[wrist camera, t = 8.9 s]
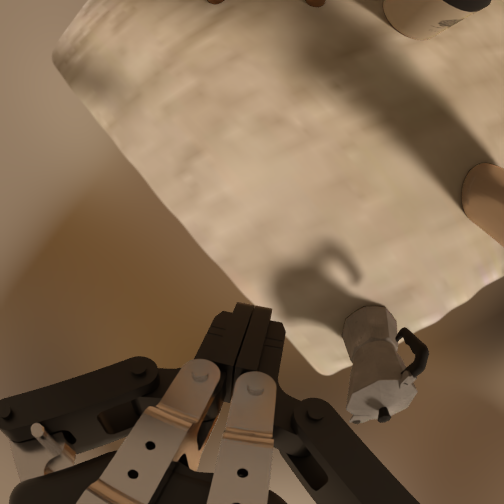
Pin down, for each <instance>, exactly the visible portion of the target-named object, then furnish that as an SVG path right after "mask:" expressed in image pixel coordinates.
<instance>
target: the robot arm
mask: <svg viewBox="0 0 504 504" xmlns="http://www.w3.org/2000/svg"><path fill="white" fill-rule="evenodd" d="M462 205H463V209H464V212H465V213H466V215H467V217H468V218H469V219H470V220H471V221H472V222H473V223H475V224H476V225H477V226H479V227H480V228H481V229H482V230H483V231H485V232H486V233H487V234H488V235H490V236H491V237H492V238H493V239H494V240H496V241H497V242H498V243H499V244H500V245H502V246H503V247H504V168H501V167H498V166H495V165H493V164H490V163H481V164H478V165H476V166H475V167H474V168H472V169H471V170H470V172H469V173H468V174H467V176H466V178H465V180H464V184H463V187H462ZM271 314H272V309H271V308H266V307H261V306H255V308H254V305H250V304H245V303H240V302H237V304H236V307H235V309H234V311H233V313H230V312H226V311H222V312H221V313H220V314H218V315H217V316H216V317H215V318H214V320H213V322H212V324H211V326H210V328H209V330H208V332H207V334H206V336H205V338H204V340H203V342H202V344H201V346H200V348H199V350H198V352H197V354H196V356H195V358H194V359H193V360H191V361H189V362H187V363H185V364H184V365H183V366H182V368H177V369H163V368H157V365H156V364H155V362H154V361H152V360H151V359H149V358H146V357H141V356H138V357H133V358H129V359H127V360H124V361H121V362H118V363H116V364H113V365H110V366H107V367H104V368H101V369H98V370H96V371H93V372H90V373H87V374H84V375H81V376H78V377H75V378H72V379H68V380H65V381H62V382H59V383H56V384H53V385H50V386H47V387H43V388H40V389H36V390H33V391H29V392H26V393H22V394H19V395H15V396H11V397H8V398H4V399H2V400H0V430H1V431H2V432H3V433H4V434H5V435H6V437H7V438H8V439H9V441H10V445H11V449H12V454H13V458H14V461H15V465H16V468H17V472H18V475H19V478H20V481H21V483H19V484H18V485H17V486H16V487H15V488H14V489H13V491H12V493H11V495H10V500H9V504H287V503H286V502H285V501H284V500H283V499H282V498H281V497H280V496H278V495H277V494H276V493H274V492H272V491H271V490H269V483H270V474H271V465H272V457H273V447H275V448H277V449H279V451H280V454H281V455H282V457H283V458H284V460H285V461H286V462H287V464H288V465H289V467H290V468H291V470H292V471H293V472H294V474H295V475H296V477H297V478H298V479H299V481H300V482H301V483H302V485H303V486H304V487H305V489H306V490H307V492H308V493H309V494H310V496H311V497H312V498H313V500H314V501H315V502H316V503H317V504H420V503H419V502H418V501H417V500H416V499H415V498H414V497H413V496H412V495H411V494H410V493H409V492H408V491H407V490H406V489H405V488H404V486H403V485H402V484H401V483H400V482H399V481H398V480H397V479H396V478H395V477H394V476H393V475H392V474H391V473H390V472H389V470H388V469H387V468H386V467H385V466H384V465H383V464H382V463H381V462H380V461H379V460H378V458H377V457H376V456H375V455H374V454H373V453H372V452H371V451H370V450H369V448H368V447H367V446H366V445H365V444H364V443H363V442H362V440H361V439H360V438H359V437H358V436H357V435H356V434H355V433H354V432H353V430H352V429H351V428H350V427H349V426H348V425H347V423H346V422H345V421H344V420H343V419H342V418H341V416H340V415H339V414H338V413H337V412H336V411H335V409H334V408H333V407H332V406H331V405H330V404H329V403H328V402H326V401H324V400H322V399H318V398H308V399H305V400H302V401H300V400H297V399H295V398H293V397H291V396H289V395H287V394H286V393H285V392H284V391H283V390H282V389H281V388H280V386H279V383H278V373H279V368H280V362H281V357H282V351H283V345H284V339H285V333H286V331H285V329H284V326H283V324H282V323H281V322H276V321H271V320H270V319H271ZM231 398H232V401H231ZM230 401H231V406H230V410H229V415H228V420H227V425H226V428H225V431H224V433H223V436H222V440H221V445H220V449H219V453H218V458H217V462H216V466H215V471H214V473H203V472H196V471H197V468H198V465H199V462H200V457H201V454H202V452H203V450H204V448H205V445H206V443H207V441H208V439H209V437H210V434H211V433H212V430H213V428H214V426H215V424H216V422H217V420H218V417H219V413H220V411H221V407H222V405H223V402H228V403H230ZM126 436H127V438H126V439H125V441H124V442H123V444H122V445H121V447H120V448H119V450H118V451H113V452H109V453H106V454H103V455H101V456H98V457H96V458H93V459H90V460H88V461H85V462H82V463H80V464H77V465H74V464H75V459H76V454H79V453H82V452H85V451H88V450H91V449H94V448H97V447H100V446H103V445H105V444H108V443H111V442H114V441H116V440H119V439H121V438H124V437H126Z"/></svg>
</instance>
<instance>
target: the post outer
mask: <svg viewBox="0 0 504 504" xmlns="http://www.w3.org/2000/svg"><path fill="white" fill-rule="evenodd" d="M208 1H209V2H210V3H211V4H219V3H221V2H223V1H224V0H208Z"/></svg>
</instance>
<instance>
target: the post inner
mask: <svg viewBox="0 0 504 504" xmlns="http://www.w3.org/2000/svg"><path fill="white" fill-rule="evenodd" d="M305 1H306V3H307V4H309V5H310V6H313V7H320V6H322V5H324V3H325V1H326V0H305Z"/></svg>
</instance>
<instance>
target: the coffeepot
mask: <svg viewBox="0 0 504 504" xmlns="http://www.w3.org/2000/svg"><path fill="white" fill-rule="evenodd" d="M342 337H343V340H344V343H345V346H346V348H347V351H348V354H349V357H350V360H351V362H352V363H353V366H352V369H351V374H350V382H349V391H348V398H347V405H346V410H347V411H349V412H350V413H351V414H353V416H352V418H351V419H350V421H349V422H353V423H355V424H359V423H363V422H366V421H368V420H371V419H378V421H379V422H380V423H381V422H386V421H389V420H390V418H391V415H393V414H396V413H397V412H400V411H402V410H404V409H406V408H407V407H408V406H409V405H410V403H411V401H412V400H413V398H414V396H415V395H416V393H417V390H416V388H415V385H414V383H413V382H414V381H415V380H416V379H417V377H416V376H418V375H419V374H420V373H422V372H423V371H424V369H425V367H426V363H427V359H428V355H429V351H428V348H427V346H426V345H425V344H424V343H422V342H421V341H420V340H419V339H418V338H417V337H416V336H415V335H414V334H413V333H412V332H411V331H409V330H408V329H407V328H405V327H404V328H402V329H401V330H400V331H399V332H398V334H397V323H396V320H395V318H394V317H393V316H392V314H391V313H390V312H389V311H388V310H387V308H386V307H379V306H368V307H363V308H361V309H359V310H357V311H355V312H354V313H353V314H351V315H350V316H349V317H348V318H346V321H345V324H344V330H343V334H342ZM402 337H403V338H404V341H405V343H406V344H407V345H409V346H410V348H411V350H412V352H413V353H414V354H415V360H414V362H413V363H412V364H411V365H409V366H408V367H407V368H406V366H405V364H404V362H403V360H402V358H401V357H400V356H399V354H398V353H397V350H398V341H399V340H400V339H401V338H402Z"/></svg>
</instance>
